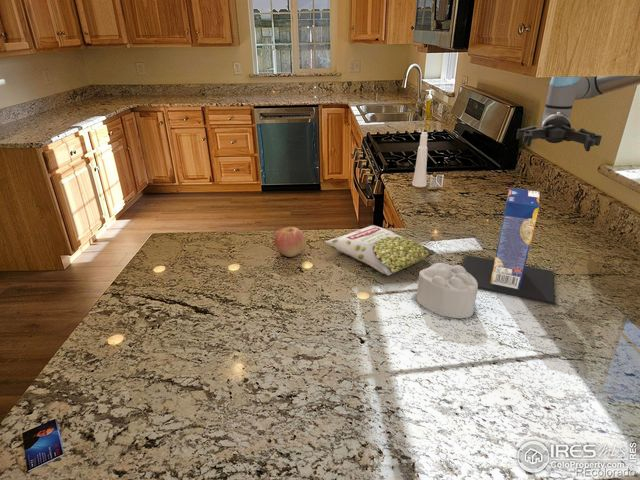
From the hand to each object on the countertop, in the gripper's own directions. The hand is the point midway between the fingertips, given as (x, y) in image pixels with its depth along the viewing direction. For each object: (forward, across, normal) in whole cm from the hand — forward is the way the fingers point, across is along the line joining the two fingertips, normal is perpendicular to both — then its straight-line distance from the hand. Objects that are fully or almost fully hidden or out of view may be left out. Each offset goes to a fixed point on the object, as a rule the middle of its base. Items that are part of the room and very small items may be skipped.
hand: (558, 143), depth 109 cm
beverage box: (+18, -6, +32) cm, 37 cm away
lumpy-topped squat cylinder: (+36, -18, +32) cm, 51 cm away
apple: (+29, -64, +32) cm, 77 cm away
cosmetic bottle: (-48, -44, +32) cm, 73 cm away
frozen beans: (+20, -40, +32) cm, 55 cm away
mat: (+18, -6, +32) cm, 37 cm away
